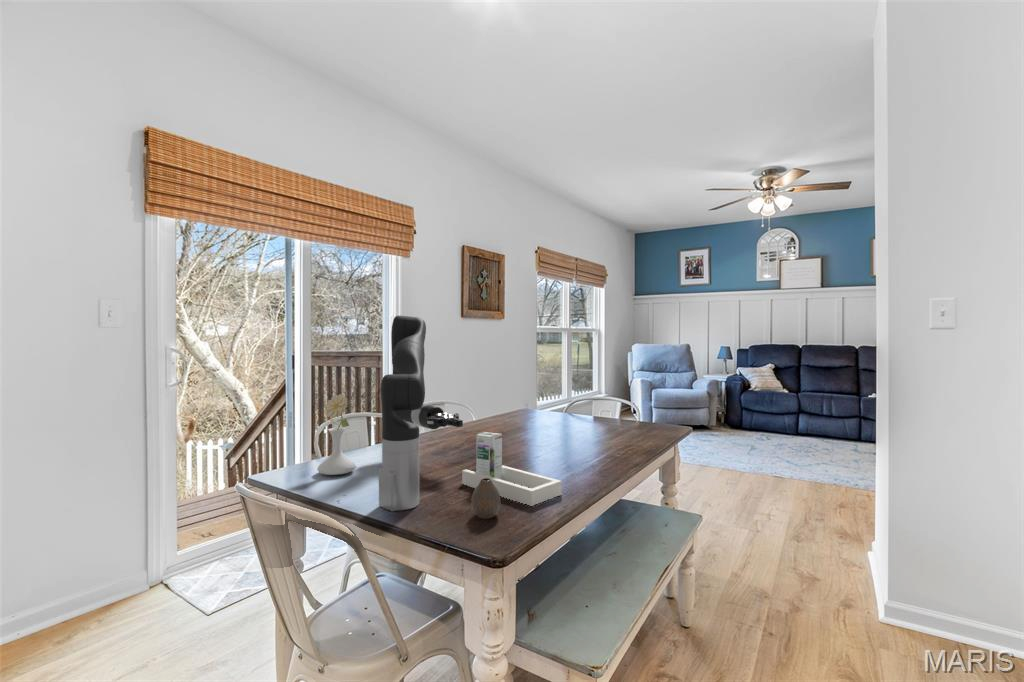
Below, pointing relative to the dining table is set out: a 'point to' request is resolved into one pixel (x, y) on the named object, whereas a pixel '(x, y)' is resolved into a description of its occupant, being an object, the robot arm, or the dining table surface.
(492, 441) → the syrup box
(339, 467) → the flower in vase
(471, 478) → the rectangular tray
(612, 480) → the dining table surface
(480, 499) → the vase
